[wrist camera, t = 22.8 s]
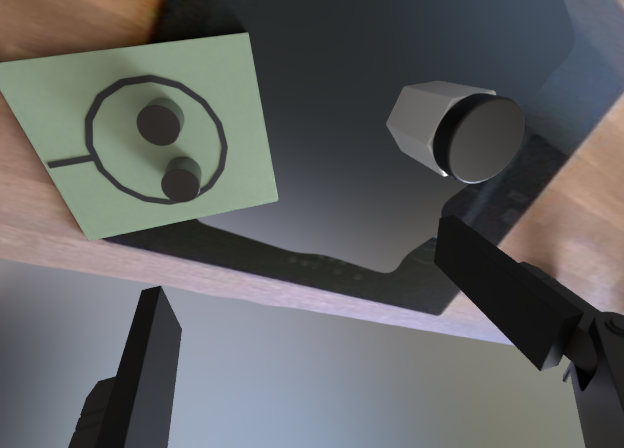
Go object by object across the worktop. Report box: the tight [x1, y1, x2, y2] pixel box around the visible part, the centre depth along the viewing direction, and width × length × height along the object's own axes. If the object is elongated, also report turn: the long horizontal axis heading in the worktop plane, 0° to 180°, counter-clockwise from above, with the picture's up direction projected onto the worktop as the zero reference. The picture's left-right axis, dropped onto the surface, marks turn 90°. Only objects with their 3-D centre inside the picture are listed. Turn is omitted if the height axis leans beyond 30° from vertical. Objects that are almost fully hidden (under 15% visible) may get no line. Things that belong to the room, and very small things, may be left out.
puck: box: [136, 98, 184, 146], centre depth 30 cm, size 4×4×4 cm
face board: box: [0, 32, 278, 241], centre depth 33 cm, size 22×18×1 cm
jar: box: [386, 80, 525, 183], centre depth 34 cm, size 9×8×12 cm
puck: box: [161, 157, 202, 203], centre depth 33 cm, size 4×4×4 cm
